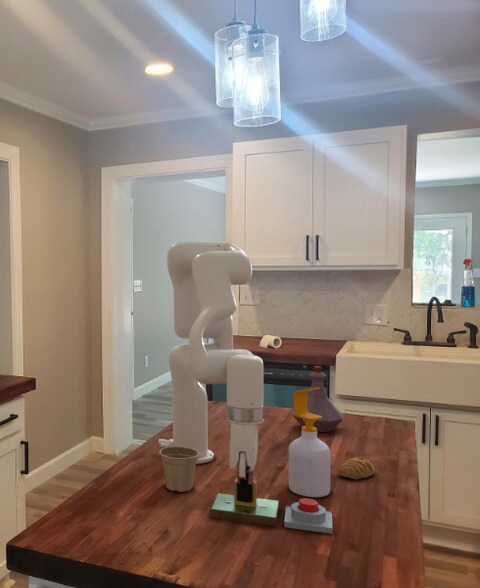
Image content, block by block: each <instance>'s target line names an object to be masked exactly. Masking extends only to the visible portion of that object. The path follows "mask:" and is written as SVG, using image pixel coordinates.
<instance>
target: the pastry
mask: <svg viewBox="0 0 480 588" xmlns="http://www.w3.org/2000/svg"><path fill="white" fill-rule="evenodd" d="M375 471H376V468H375V467H374V465H373V463H372V462H371V460H370V459H369V458H367V457H364V456H354V457H353V458H350V459H349V458H348V459H346V460H345V461H344V462H342V464H340V469H339V470H338V472H339V475H340V477H346V478H348V479H353V480H359V479H366V478H369V477H371V476H373V475H374V473H375Z"/></svg>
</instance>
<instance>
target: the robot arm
mask: <svg viewBox="0 0 480 588" xmlns="http://www.w3.org/2000/svg"><path fill="white" fill-rule="evenodd" d="M166 254H167V255H166V266H167V271H168V275H169V277H170V281H171V285H172V289H173V327H174V333H175V335H176V336H177V337H178V338H180V339H186V340H188V343H182V344H177V345H175V346H174V347H172V348H171V350H170V351H169V353H168V366H169V371H170V376H171V386H172V387H171V388H172V390H171V391H172V438H170V439H164V438H163V439H162V438H158V442H157V444H158V446H159V447H160V449H163V448H166V447H173V446H180V447H188V448H192V449H195V450H197V451H198V452H199V456H198V457H197V461H196V464H195V465H201V464H206V463H210V462H211V461H213V460H214V458H215V457H214V452H213V451H212V450H210V449H209V441H208V440H209V436H208V435H209V434H208V433H209V431H208V429H209V421H208V420H209V419H208V418H209V417H208V415H209V412H208V409H209V408H208V393H207V391H206V389H205V387H203V385H202V384H204V385H221V384H223V385H224V384H226V421H227V422H229V423H230V435H229V469H230V470H231V471H233V470H236V472H237V473H236V474H237V475H236V479H237V501H240V502H248V503H252V501H253V483H251V480H255V478H254V470H255V467H256V463H257V460H258V448H259V425H261V424H263V423H264V422H265V418H264V417H265V416H264V414H265V413H264V411H265V408H264V405H265V403H264V397H265V395H264V392H265V391H264V386H265V385H264V361H263V359H262V358H261V357H260V356H258V355H256V354H255V355H254V354H253V353H252V352H251V351H250V350H248V349H243V348H241V349H240V348H238V349H237V348H236V349H234V322H233V315H234V314H235V313H236V311H237V308H238V306H237V301H236V298H235V294H234V289H233V286H242V285H243V286H244V285H246V284H248V283H249V282H250V281H251V278H252V275H253V266H252V262H251V261H252V260H251V259H250V257H249V255H248V254H247V253H246V252H245V251H244V250H243V249H241V247H238V246H237V245H236V244H234V243H232V242H230V241H225V240H224V241H221V240H220V241H219V240H218V241H217V240H215V241H214V240H213V241H211V240H210V241H208V240H207V241H203V240H202V241H201V240H200V241H199V240H196V241H194V240H192V241H191V240H190V241H180V242H176V243H174V244H172V245H170V246H169V248H168V251H167V253H166ZM205 339H212V342H206V343H205V342H204V340H205Z"/></svg>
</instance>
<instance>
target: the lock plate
mask: <svg viewBox="0 0 480 588" xmlns="http://www.w3.org/2000/svg"><path fill="white" fill-rule="evenodd" d="M279 510H280V501H279V500H276V499H269V498H259V497H257V505H256V507H249V506H242V505H234V494H228V493H219V492H218V493H217V494H216V496H215V499H214V502H213V504H212V506H211V510H210V511H211V512H210V514H211V516H210V517H211V519H217V520H225V521H231V522H238V523H246V524H252V525H259V526H267V527H273V528H276V527H277V524H278V518H279V513H280V512H279Z"/></svg>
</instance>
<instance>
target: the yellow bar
mask: <svg viewBox="0 0 480 588" xmlns="http://www.w3.org/2000/svg"><path fill="white" fill-rule="evenodd" d="M251 483H253V501H252V503H248V502H240V501H237V478H235V479H234V481H233V495H234V505H242V506H249V507H256V505H257V498H258V481H257V480H256V479H254V480H251Z"/></svg>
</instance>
